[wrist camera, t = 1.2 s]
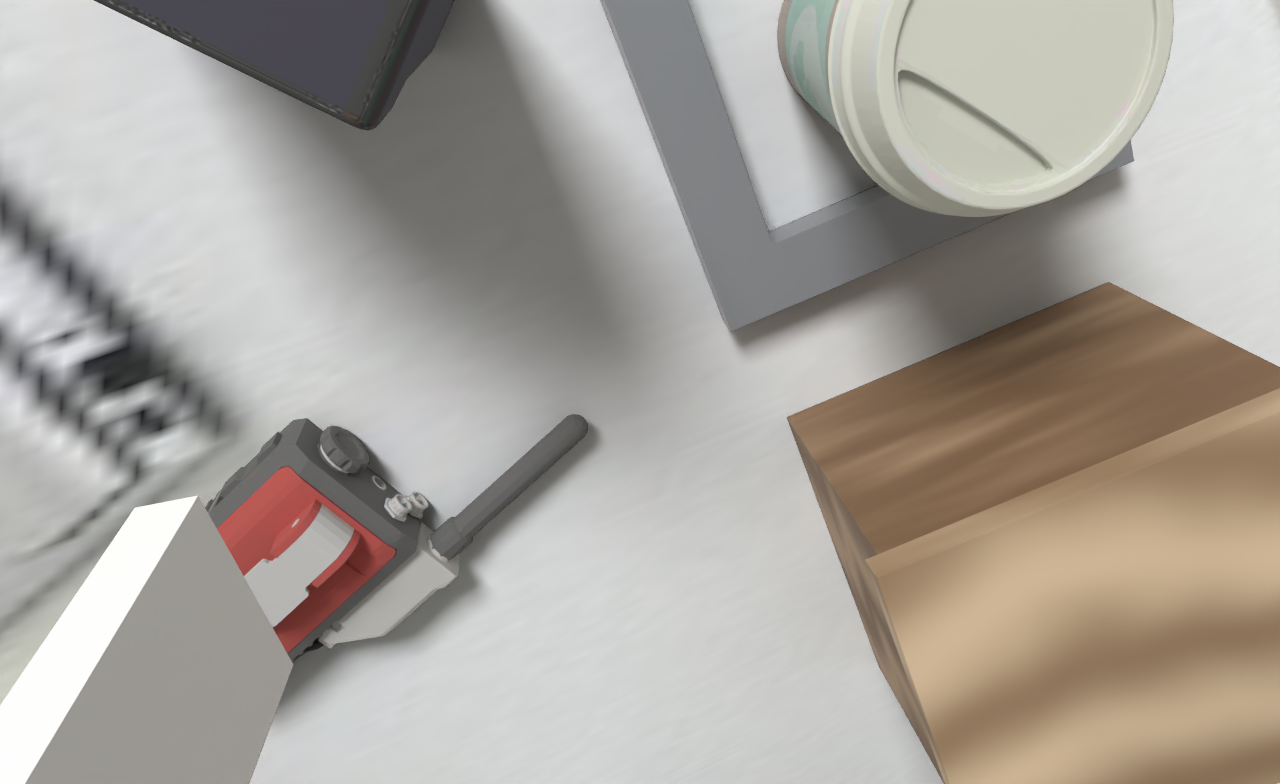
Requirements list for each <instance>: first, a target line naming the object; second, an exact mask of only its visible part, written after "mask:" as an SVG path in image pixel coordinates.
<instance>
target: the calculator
mask: <svg viewBox="0 0 1280 784" xmlns="http://www.w3.org/2000/svg"><path fill="white" fill-rule="evenodd" d="M94 1H96V2H98V3H101V4H103V5H105V6H107V7H109V8H111V9H113V10H115V11H117V12H119V13H121V14H123V15H125V16H127V17H129V18H131V19H134V20H136V21H138V22H140V23H142V24H144V25H146V26H148V27H150V28H152V29H154V30H156V31H158V32H160V33H162V34H164V35H166V36H169V37H171V38H173V39H175V40H177V41H179V42H181V43H183V44H185V45H187V46H189V47H191V48H193V49H195V50H197V51H199V52H202V53H204V54H206V55H208V56H210V57H212V58H214V59H216V60H218V61H220V62H222V63H224V64H226V65H228V66H230V67H232V68H234V69H237V70H239V71H241V72H243V73H245V74H247V75H249V76H251V77H253V78H255V79H257V80H259V81H261V82H263V83H265V84H267V85H270V86H272V87H274V88H276V89H278V90H280V91H282V92H284V93H286V94H288V95H290V96H292V97H294V98H296V99H298V100H300V101H302V102H305V103H307V104H309V105H311V106H313V107H315V108H317V109H319V110H321V111H323V112H325V113H327V114H329V115H331V116H333V117H335V118H338V119H340V120H342V121H344V122H346V123H348V124H350V125H352V126H355V127H357V128H360V129H364V130H371V129H374V128H376V127H377V125H378V124H379V123H380V122H381V121H382V120H383V118H384V117H385V116H386V115H387V113H388V112H389V111H390V110H391V108H392V107H393V105H394V103H395V101H396V99H397V97H398V95H399V93H400V91H401V89H402V87H403V85H404V83H405V81H406V79H407V78H408V77H409V76H410V75H411V74H412V73H413V71H414V70H415V69H416V68H417V67H418V66H419V65H420V64H421V63H422V62H423V60H424V59H425V58H426V57H427V56H428V55H429V54H430V53H431V52H432V50H433V48H434V45H435V43H436V41H437V38H438V36H439V34H440V31H441V29H442V27H443V25H444V22H445V20H446V18H447V15H448V13H449V11H450V8H451V6H452V4H453V2H454V0H94Z"/></svg>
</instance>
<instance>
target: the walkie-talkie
mask: <svg viewBox="0 0 1280 784" xmlns="http://www.w3.org/2000/svg"><path fill="white" fill-rule="evenodd" d="M587 431H588V423H587V422H586V420H585V419H584V418H583V417H582V416H580V415H575V414H573V415H570V416H567V417H566V418H565V419H564V420H563V421H562V422H561V423H560V424H558V425H557V426H556V427H555V428H554V429H553V430H552V431H551V432H550V433H548V434H547V435H546V436H545V437H544V438H543V439H542V440H541V441H540V442H538V443H537V444H536V445H535V446H534V447H533V448H532V449H531V450H530V451H528V452H527V453H526V454H525V455H524V456H523V457H522V458H521V459H520V460H518V461H517V462H516V463H515V464H514V465H513V466H512V467H511V468H510V469H508V470H507V471H506V472H505V473H504V474H503V475H502V476H501V477H500V478H498V479H497V480H496V481H495V482H494V483H493V484H492V485H491V486H490V487H488V488H487V489H486V490H485V491H484V492H483V493H482V494H481V495H480V496H478V497H477V498H476V499H475V500H474V501H473V502H472V503H471V504H470V505H468V506H467V507H466V508H465V509H464V510H463V511H462V512H461V513H460V514H458V515H457V516H456V517H451V518H449V519H448V520H447V521H446V522H445V523H444V524H442V525H441V526H440V527H439V528H438V529H437V530H436V531H435V532H434V531H433V530H431V529H430V528H429V527H428V526H426V525H425V524H424V523H423V522H420V519H421V518H422V517H423V511H424V510H425V509H426V508H427V507H428V502H427V500H426V499H425V498H424V496H423V495H421V494H420V493H418V492H413V493H412V494H411V495H410V496H409V497H408V496H406V495H404V496H403V495H402V494H400V493H399V492H398V491H397V490H395V489H394V488H393V487H392V486H390V485H389V484H388V483H387V482H385V481H384V480H383V479H382V478H380V477H379V476H378V475H377V474H376V473H374V472H373V471H372V470H371V469H369V468H368V464H369V455H368V452H367V451H366V449H365V447H364V446H363V444H362V443H361V441H360V440H359V439H358V438H357V437H356V436H355V435H353V434H352V433H351V432H349V431H347V430H345V429H343V428H341V427H338V426H330V427H327V428H326V429H325V430H324V431H322V430H321V429H320V428H318V427H317V426H316V425H315V424H313V423H312V422H311V421H310V420H308V419H307V418H305V419H298V420H293V421H292V422H291V423H290V424H289V425H288V426H287V427H286V428H285V429H283V430H282V431H281V432H280V433H279V432H277V433H276V434H275V435H274V436H273V437H272V438H271V439H270V440H269V441H268V442H267V443H266V444H265V445H264V446H263V447H262V449H261V451H260V453H259V454H258V455H257V456H256V457H254V458H253V459H252V460H251V461H250V462H249V463H248V464H247V465H246V466H245V467H241V468H240V469H239V470H238V471H237V472H236V473H235V474H234V475H233V476H232V477H231V478H230V479H229V480H228V481H227V482H226V483H225V484H224V486H223V488H222V489H221V490H220V491H219V492H218V493H217V495H216V497H215V499H214V500H210V501H209V502H208V504H207V506H206V507H205V509H206V510H207V512H208V514H209V516H210V517H211V519H212V521H213V523H214V525H215V526H216V528H217V530H218V532H219V533H220V535H221V537H222V539H223V541H224V542H225V544H226V546H227V548H228V549H229V551H230V553H231V555H232V557H233V558H234V560H235V562H236V564H237V565H238V567H239V569H240V571H241V572H242V574H243V576H244V578H245V580H246V581H247V583H248V585H249V587H250V588H251V590H252V592H253V594H254V596H255V597H256V599H257V601H258V603H259V604H260V606H261V608H262V610H263V612H264V613H265V615H266V617H267V619H268V620H269V622H270V624H271V626H272V627H273V629H274V631H275V633H276V635H277V636H278V638H279V640H280V642H281V643H282V645H283V647H284V649H285V651H286V652H287V654H288V656H289V658H290V659H291V661H292V663H293V662H294V661H295V660H296V659H297V658H298V657H300V656H301V655H303V654H304V653H306V652H308V651H312V650H315V649H318V648H320V647H321V646H323V645H325V646H327V647H328V648H330V649H331V648H332V647H333V646H334V645H335V644H336V643H342V642H349V641H355V640H361V639H368V638H374V637H380V636H385V635H387V634H388V633H390V632H391V631H392V630H393V629H394V628H395V627H396V626H398V625H399V624H400V623H401V622H402V621H403V620H404V619H405V618H407V617H408V616H409V615H410V614H411V613H412V612H413V611H415V610H416V609H417V608H418V607H419V606H420V605H421V604H422V603H424V602H425V601H426V600H427V599H428V598H429V597H430V596H432V595H433V594H434V593H435V592H436V591H437V590H438V589H442V588H446V587H447V586H448V585H449V584H450V583H452V582H453V581H454V580H455V579H456V578H457V577H458V576H459V561H460V554H459V553H460V552H461V551H462V550H463V549H465V548H466V547H467V546H468V545H469V544H470V543H471V542H472V541H473V536H474V535H475V534H476V533H477V532H478V531H479V530H481V529H482V528H483V527H484V526H485V525H486V524H487V523H488V522H490V521H491V520H492V519H493V518H494V517H495V516H496V515H497V514H498V513H500V512H501V511H502V510H503V509H504V508H505V507H506V506H507V505H509V504H510V503H511V502H512V501H513V500H514V499H515V498H516V497H518V496H519V495H520V494H521V493H522V492H523V491H524V490H525V489H526V488H528V487H529V486H530V485H531V484H532V483H533V482H534V481H535V480H537V479H538V478H539V477H540V476H541V475H542V474H543V473H544V472H545V471H547V470H548V469H549V468H550V467H551V466H552V465H553V464H554V463H556V462H557V461H558V460H559V459H560V458H561V457H562V456H563V455H565V454H566V453H567V452H568V451H569V450H570V449H571V448H572V447H573V446H575V445H576V444H577V443H578V442H579V441H580V440H581V439H582V438H584V437H585V436H586V434H587Z"/></svg>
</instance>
